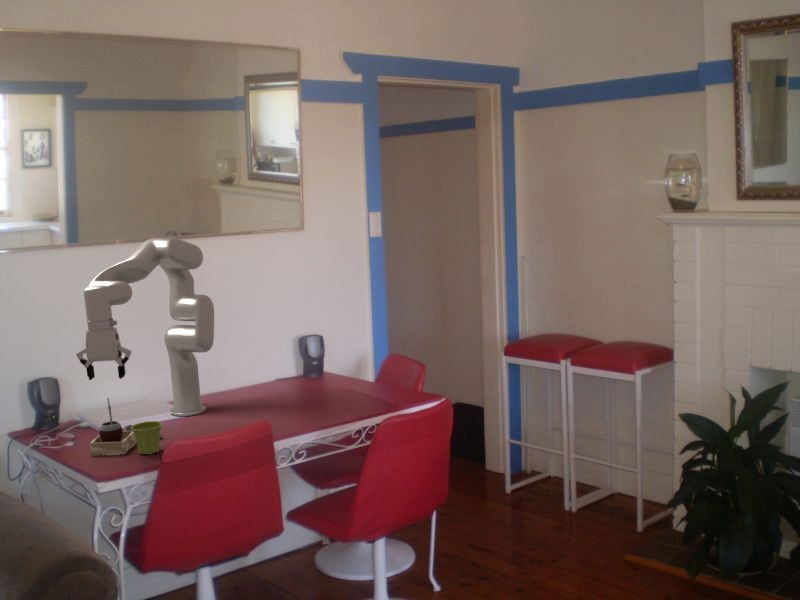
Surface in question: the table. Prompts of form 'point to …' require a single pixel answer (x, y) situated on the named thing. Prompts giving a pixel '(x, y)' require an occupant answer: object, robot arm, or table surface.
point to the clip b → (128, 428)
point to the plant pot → (147, 436)
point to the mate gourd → (110, 429)
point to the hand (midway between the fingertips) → (106, 378)
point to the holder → (113, 445)
